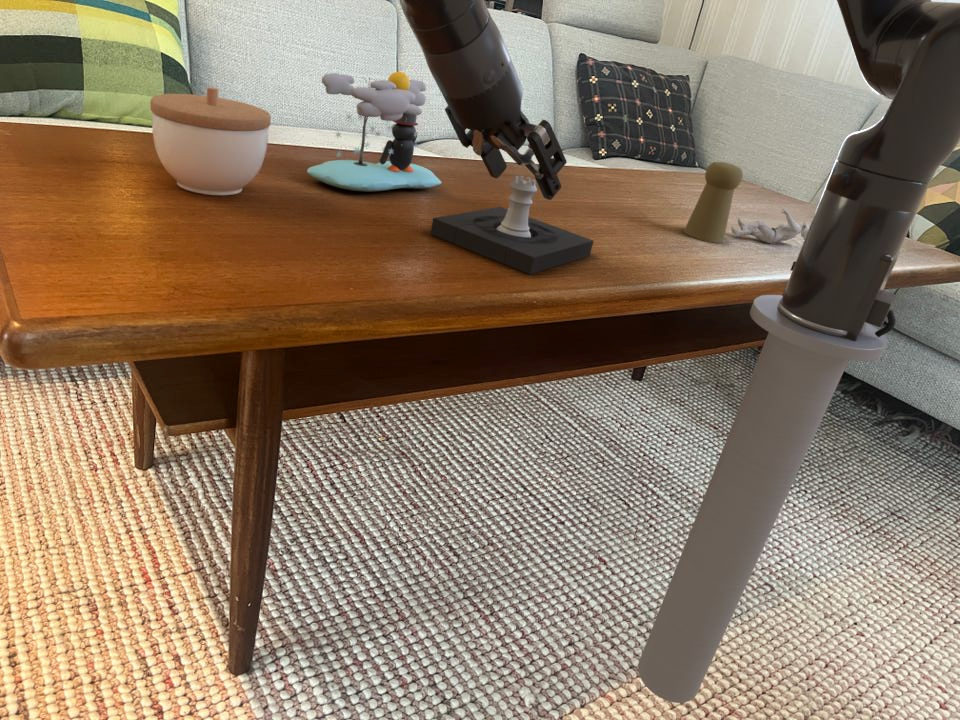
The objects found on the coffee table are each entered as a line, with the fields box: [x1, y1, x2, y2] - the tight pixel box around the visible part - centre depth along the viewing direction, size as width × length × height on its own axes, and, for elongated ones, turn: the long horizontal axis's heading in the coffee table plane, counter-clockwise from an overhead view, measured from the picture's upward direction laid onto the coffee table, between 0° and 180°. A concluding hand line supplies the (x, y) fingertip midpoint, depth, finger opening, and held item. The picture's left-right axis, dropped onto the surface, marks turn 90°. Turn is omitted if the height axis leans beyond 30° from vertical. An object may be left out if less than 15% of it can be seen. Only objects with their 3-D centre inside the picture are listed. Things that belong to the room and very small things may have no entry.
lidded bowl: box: [149, 86, 272, 196], centre depth 83 cm, size 13×13×11 cm
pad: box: [430, 206, 594, 275], centre depth 86 cm, size 14×14×2 cm
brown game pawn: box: [683, 161, 744, 244], centre depth 108 cm, size 6×6×11 cm
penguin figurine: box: [306, 71, 442, 193], centre depth 97 cm, size 20×11×15 cm, turn 133°
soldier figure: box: [730, 207, 810, 244], centre depth 114 cm, size 8×5×12 cm
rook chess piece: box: [497, 175, 538, 237], centre depth 85 cm, size 4×4×8 cm
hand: (525, 182), depth 84 cm, fingers open, 8 cm apart
